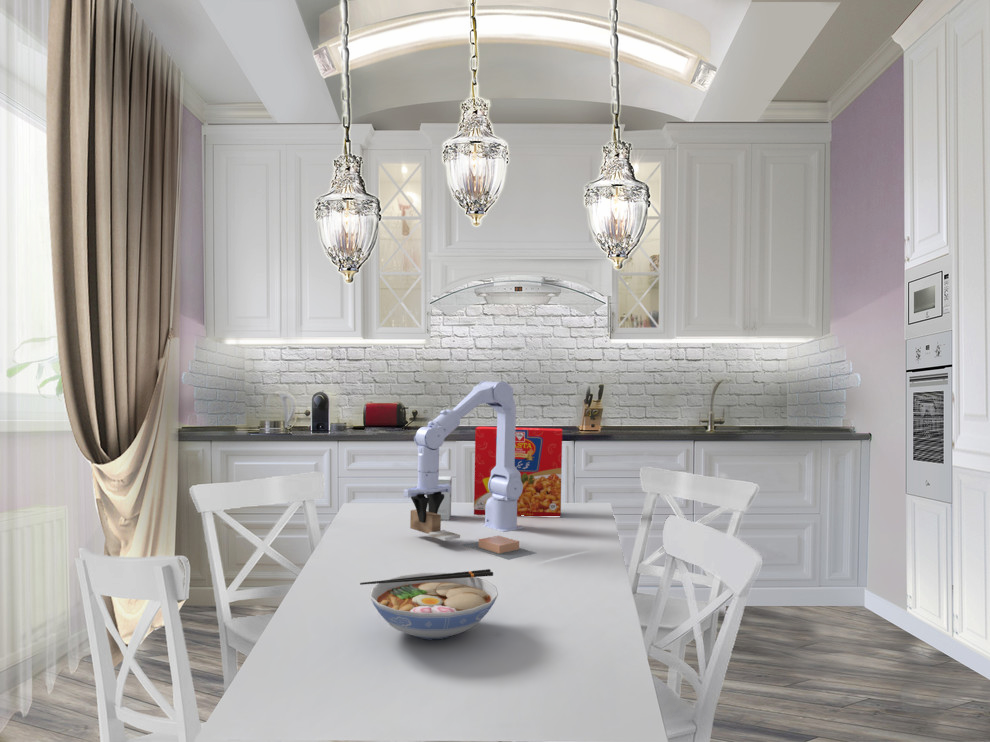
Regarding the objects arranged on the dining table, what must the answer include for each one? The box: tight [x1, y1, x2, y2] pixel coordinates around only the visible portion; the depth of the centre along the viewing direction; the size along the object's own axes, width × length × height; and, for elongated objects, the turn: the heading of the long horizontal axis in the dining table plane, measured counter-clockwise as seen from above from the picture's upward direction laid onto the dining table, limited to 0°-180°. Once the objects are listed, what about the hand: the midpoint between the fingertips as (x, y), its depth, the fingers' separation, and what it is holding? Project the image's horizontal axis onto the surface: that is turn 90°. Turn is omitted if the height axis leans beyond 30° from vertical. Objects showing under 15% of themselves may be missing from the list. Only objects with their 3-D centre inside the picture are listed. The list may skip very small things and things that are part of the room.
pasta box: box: [473, 426, 563, 517], centre depth 225 cm, size 28×8×28 cm, turn 85°
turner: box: [409, 509, 461, 542], centre depth 185 cm, size 17×5×5 cm, turn 42°
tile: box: [478, 535, 520, 554], centre depth 178 cm, size 2×7×8 cm
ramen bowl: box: [359, 568, 499, 641], centre depth 122 cm, size 25×23×8 cm
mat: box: [462, 540, 537, 561], centre depth 179 cm, size 18×10×1 cm, turn 42°
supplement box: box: [426, 475, 453, 521], centre depth 217 cm, size 7×7×13 cm
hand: (427, 521), depth 187 cm, fingers closed on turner, 3 cm apart
